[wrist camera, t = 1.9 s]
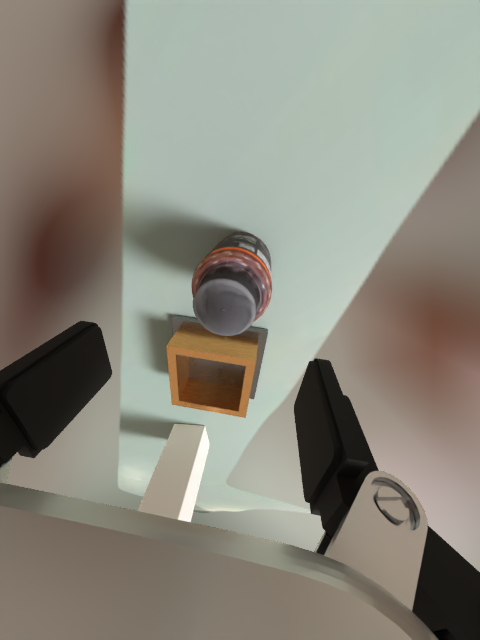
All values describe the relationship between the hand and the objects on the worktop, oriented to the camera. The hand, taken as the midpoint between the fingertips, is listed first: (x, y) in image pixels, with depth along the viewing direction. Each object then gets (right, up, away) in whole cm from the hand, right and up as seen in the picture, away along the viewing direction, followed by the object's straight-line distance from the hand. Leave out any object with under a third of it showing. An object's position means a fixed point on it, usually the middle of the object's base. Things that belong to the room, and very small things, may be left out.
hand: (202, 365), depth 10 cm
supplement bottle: (+2, +8, +13) cm, 16 cm away
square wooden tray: (-1, -3, +20) cm, 21 cm away
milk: (-7, -20, +31) cm, 37 cm away
